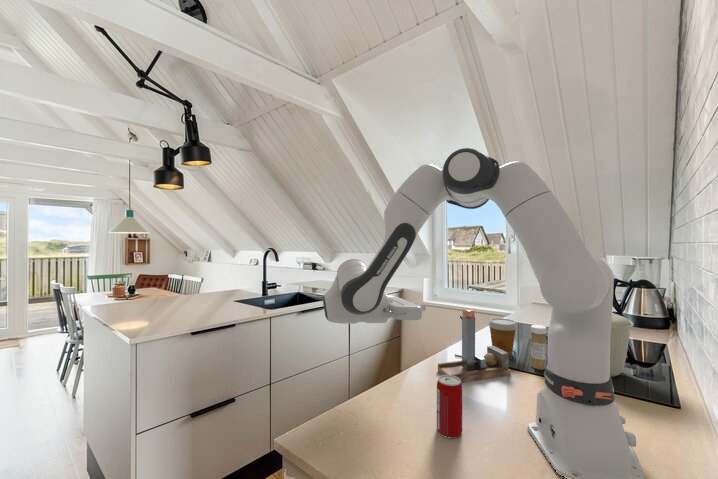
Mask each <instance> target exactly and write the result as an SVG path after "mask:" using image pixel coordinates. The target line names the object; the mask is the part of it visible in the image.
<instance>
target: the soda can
mask: <svg viewBox="0 0 718 479" xmlns="http://www.w3.org/2000/svg"><path fill="white" fill-rule="evenodd" d="M436 432H437V433H438V434H439V433H440V434H441V435H443V436H446V437H450V438H455V439H457V438H456V437H458V438H459V437H461V436H462V435H463V385H462V382H461V380H460V379H459V378H458V377H456V376H453V375H442V374H441V375H439V376H438V377H437V382H436ZM440 434H439V435H440ZM441 435H440V436H441ZM443 436H442V437H443Z"/></svg>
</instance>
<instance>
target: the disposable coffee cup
mask: <svg viewBox="0 0 718 479" xmlns="http://www.w3.org/2000/svg"><path fill="white" fill-rule="evenodd" d="M488 327H489V332H490V338H491V339H490V340H491V346H495V347H497V348H499V349H501V350H503V351H505V352H507V353H508V358H511V357H512V356H513V350H514V342H515V336H516V329H517V328H518V325H517V323H516V321H515V320H512V319H509V318H502V317H501V318H500V317H496V318H490V319H489V322H488Z"/></svg>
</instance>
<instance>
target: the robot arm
mask: <svg viewBox="0 0 718 479" xmlns="http://www.w3.org/2000/svg"><path fill="white" fill-rule="evenodd" d="M488 201H492V202H493V203H494V204H495V205H496V206H497V207H498V208H499V210H500V211H501V213H502V214H503V216H504V218H505V220H506V221H507V223H508V225H509V227H511V229H512V231H513V232H514V234H515V236H516V237H517V239H518V242H520V244H521V246H522V247H523V250H524V252H525V254H526V257H527V258H528V262H529V264H530V267H531V269H532V271H533V274H534V276H535V278H536V279H537V282H538V285H539V289H540V293H541V295H542V297H543V300H544V301H546V303H547V304H548V305H549V306H550V307H552V308H551V313H550V314H551V315H550V320H549V324H548V328H547V364H546V367H545V369H544V383H545V385H544V387H543V388H542V389H541V390H540V391H538V392H537V394H536V410H535V421H532V422H529V423H528V424H527V431H528V432H529V434H530V436H531V435H532V436H531V437H532V438H534V439H533V440H534V442H535V441H536V442H535V444H538V445H537V446H538V448H539V447H540V448H541V449H540V448H539V449H540V451H541V450H542V451H543V452H542V451H541V452H542V453H544V454H545V455H544V454H543V455H544V456H546V457H545V458H546V460H547V459H548V460H547V462H548V463H549V462H550V463H551V465H552V466H553V467H554V469H555V470H556V471H557V473H559V474H561V475H562V476H565V477H567V478H570V479H645V476H644V473H643V471H642V469H641V466H640V464H639V461H638V459H637V456H636V455H635V452H634V449H633V448H635V447H637V438H636V434H635V433H633V432H630V431H625V429H624V428H625V427H624V425H625V424H626V417H625V416H623V415H620V412H619V409H618V406H617V405H618V403H617V402H616V401H615V394H614V393H615V389H614V385H613V379H612V377H610V335H611V323H612V313H613V306H614V305H613V304H614V288H615V287H614V286H615V285H614V284H615V283H614V274H613V271H612V270H611V267H610V266H609V265H608V263H606V262H605V261H603V259H601V258H599V257H597V256H594V255H592V254H591V253H590V251H589V250H588V247H587V246H586V245H585V243H584V241H583V239H582V238H581V236H580V234H579V232H578V230H577V228H576V226H575V224H574V221H573V220H572V219H571V218H570V216H569V215H568V213H567V211H566V210H565V209H564V208H563V206H562V204H561V203H560V201H559V200H558V199H557V197H556V196H555V195H554V193H553V192H552V190H551V188H550V187H549V186H548V185H547V183H546V182H545V181H544V180H543V178H541V177H540V176H539V174H538V173H537V172H536V171H535V170H534V169H533V168H532V167H531V166H530V165H529V164H527V163H526V162H523V161H512V162H509V163H505V164H503V165H502V166H500V163H499V161H498V160H496V159H494V158H492V157H491V156H488V155H486V154H485V153H483V152H480V151H479V150H477V149H474V148H469V147H463V148H459V149H457V150H454V151H453V152H452V153H450V155H449V156H448V157H447V158H446V160H445V162H444V164H443V167H442V169H441V168H440V167H438V166H437V165H436V166H435V165H433V164H429V163H428V164H423V165H421V166H419V167H417V168H416V170H414V172H412V173H411V174H410V175H409V176H408V177H407V178H406V179H405V180H404V182H403V183H402V184H401V185H400V186H399V188H397V190H396V191H395V192H394V194H393V196H391V198H390V199H389V201H388V203H387V205H386V207H385V209H384V211H383V220H384V225H385V228H384V229H385V232H384V234H385V235H384V240H383V242H382V245H381V247H380V248H379V249H378V251H377V252H376V254H375V255H374V257H373V259H372V260H371V262H370V263H369V265H368V266H367V264H366V263H365V262H364V261H362V260H360V259H355V258H353V259H348V260H346V261H344V262H341V264H340V265H339V267H338V269H337V271H336V274H335V275H336V276H335V278H334V280H333V283H332V285H331V286H330V288H329V289H328V290H327V292H325V294H323V296H322V305H323V310H324V316H325V319H326V320H327V321H328V322H329V323H333V324H341V325H343V324H346V325H356V324H358V323H365V324H386V323H387V322H388V320H389V319H394V320H400V321H419V320H422V318H423V312H425V311H426V309H427V308H426V304H424V303H419V302H412V301H409V300H406V299H404V298H401V297H399V296H397V295H388V294H387V293H386V292H385V290H386V288H387V286H388V284H389V282H390V280H391V279H392V277H393V276H394V274H395V273H396V272H397V270H398V268H400V265H401V264H402V263H403V261H404V260H405V258H406V256H407V255H408V253H409V252H410V250H411V248H412V246H413V244H414V243H415V240H416V237H417V235H418V234H419V232H420V231H421V229H422V228H423V226H424V224H426V222H427V220H429V218H430V216H431V215H432V214H433V213H434V211H435V210H436V209H437V208H438V207H439V205H441V204H442V203H443V202H446V203H448V204H450V205H455V206H458V207H460V208H463V209H469V210H475V209H479V208H481V207H483V206H484V205H486V204H487V203H488ZM550 463H549V464H550ZM551 465H550V466H551ZM552 466H551V467H552ZM554 469H553V470H554ZM557 473H556V474H557ZM562 476H561V477H562Z"/></svg>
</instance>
